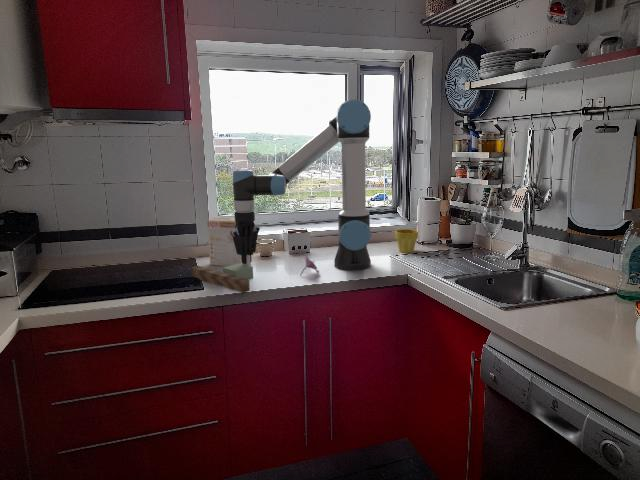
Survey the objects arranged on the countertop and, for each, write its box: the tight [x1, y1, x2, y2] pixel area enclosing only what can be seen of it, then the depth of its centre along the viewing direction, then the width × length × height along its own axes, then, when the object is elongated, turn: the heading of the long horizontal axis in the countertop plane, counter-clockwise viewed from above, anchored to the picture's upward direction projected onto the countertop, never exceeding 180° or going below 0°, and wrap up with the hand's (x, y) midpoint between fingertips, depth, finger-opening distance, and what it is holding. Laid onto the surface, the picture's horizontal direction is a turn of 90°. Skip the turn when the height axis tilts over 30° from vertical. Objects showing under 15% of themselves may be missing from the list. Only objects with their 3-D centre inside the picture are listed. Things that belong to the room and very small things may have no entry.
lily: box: [300, 248, 321, 277], centre depth 174 cm, size 12×12×10 cm
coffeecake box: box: [206, 217, 242, 267], centre depth 189 cm, size 15×7×20 cm, turn 69°
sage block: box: [222, 263, 254, 280], centre depth 171 cm, size 8×8×4 cm
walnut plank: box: [190, 265, 251, 293], centre depth 164 cm, size 30×3×4 cm, turn 50°
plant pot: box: [394, 228, 419, 254], centre depth 210 cm, size 10×10×10 cm
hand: (247, 271), depth 174 cm, fingers closed
